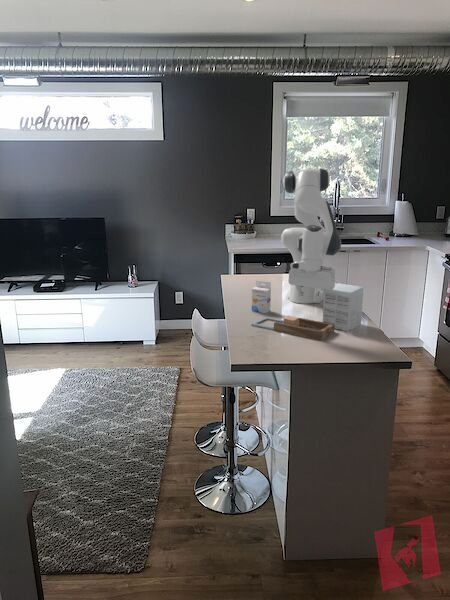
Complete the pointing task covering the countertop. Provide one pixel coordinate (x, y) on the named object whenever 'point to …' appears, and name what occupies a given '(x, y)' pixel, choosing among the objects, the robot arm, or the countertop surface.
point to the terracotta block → (291, 320)
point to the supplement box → (343, 306)
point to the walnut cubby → (307, 328)
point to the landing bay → (264, 325)
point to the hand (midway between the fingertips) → (310, 297)
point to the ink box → (261, 297)
